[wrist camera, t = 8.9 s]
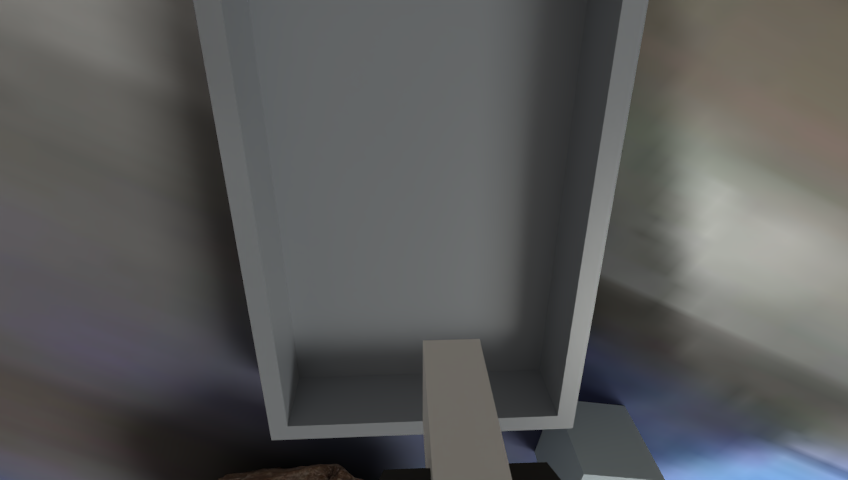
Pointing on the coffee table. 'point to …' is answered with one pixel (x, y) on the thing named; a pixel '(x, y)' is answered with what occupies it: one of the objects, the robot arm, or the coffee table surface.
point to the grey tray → (418, 195)
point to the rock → (295, 473)
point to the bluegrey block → (598, 446)
